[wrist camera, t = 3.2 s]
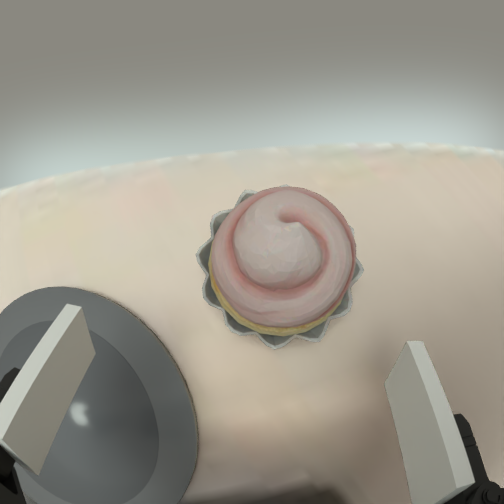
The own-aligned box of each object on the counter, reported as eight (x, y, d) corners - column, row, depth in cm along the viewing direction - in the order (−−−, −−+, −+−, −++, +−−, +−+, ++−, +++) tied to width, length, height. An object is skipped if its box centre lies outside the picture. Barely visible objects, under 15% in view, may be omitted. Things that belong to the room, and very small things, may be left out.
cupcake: (362, 261, 23) (431, 209, 13) (291, 372, 21) (328, 397, 11) (257, 190, 24) (264, 102, 14) (179, 292, 22) (131, 256, 12)
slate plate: (242, 359, 21) (241, 360, 20) (153, 559, 16) (149, 567, 15) (24, 251, 22) (15, 246, 21) (-27, 438, 17) (-35, 440, 16)
